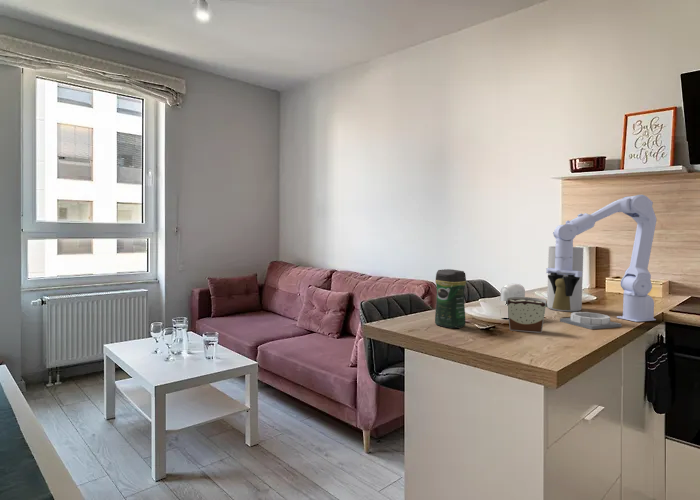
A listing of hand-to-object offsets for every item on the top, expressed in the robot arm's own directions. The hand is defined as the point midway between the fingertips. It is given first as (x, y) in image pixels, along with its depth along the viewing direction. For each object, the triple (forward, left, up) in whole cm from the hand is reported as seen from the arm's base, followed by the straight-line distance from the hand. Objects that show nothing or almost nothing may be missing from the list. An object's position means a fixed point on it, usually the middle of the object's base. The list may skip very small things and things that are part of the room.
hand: (562, 295), depth 160 cm
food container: (+27, +12, -8) cm, 31 cm away
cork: (0, 0, -5) cm, 5 cm away
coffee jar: (+47, 0, -8) cm, 48 cm away
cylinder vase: (-14, -13, -8) cm, 21 cm away
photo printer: (+18, -5, -8) cm, 21 cm away
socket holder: (0, +12, -8) cm, 15 cm away
